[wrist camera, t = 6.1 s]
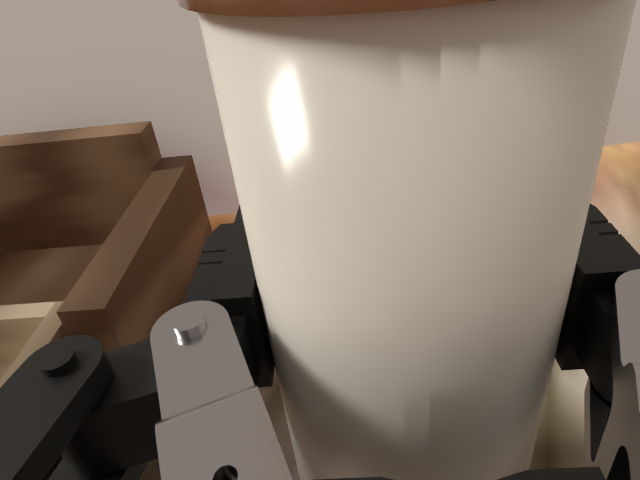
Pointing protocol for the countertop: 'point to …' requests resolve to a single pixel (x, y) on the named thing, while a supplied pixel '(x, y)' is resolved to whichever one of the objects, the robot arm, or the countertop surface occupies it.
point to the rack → (99, 228)
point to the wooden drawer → (26, 333)
